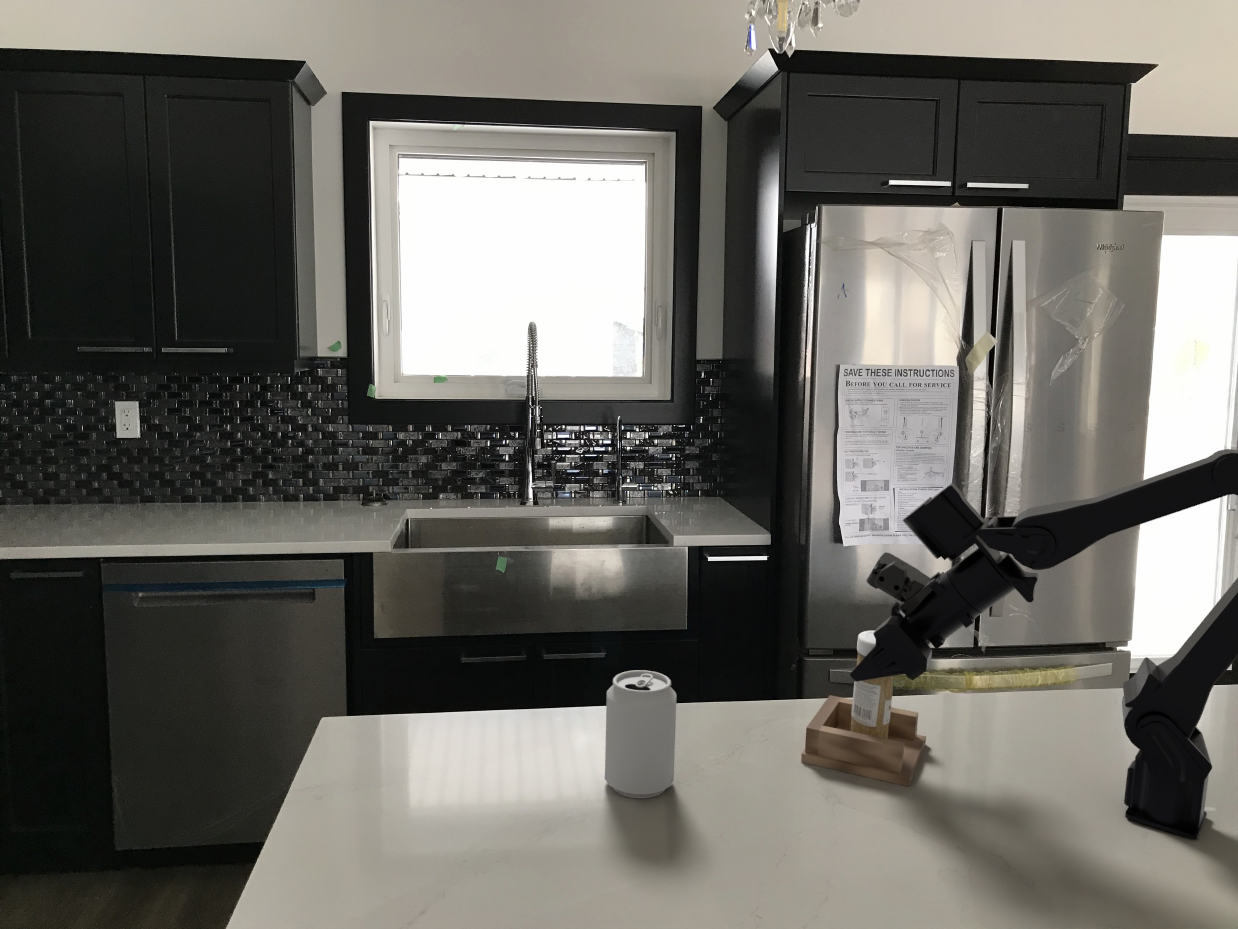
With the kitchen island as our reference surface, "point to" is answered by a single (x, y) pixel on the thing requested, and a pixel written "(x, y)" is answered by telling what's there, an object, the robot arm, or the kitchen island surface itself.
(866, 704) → the sprinkles bottle
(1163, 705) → the robot arm
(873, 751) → the walnut cradle
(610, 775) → the can
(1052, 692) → the kitchen island surface
